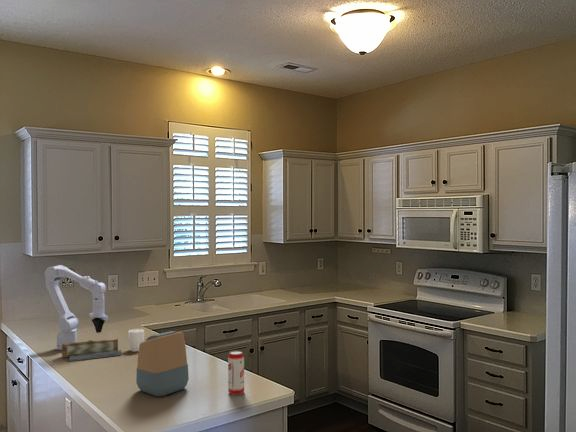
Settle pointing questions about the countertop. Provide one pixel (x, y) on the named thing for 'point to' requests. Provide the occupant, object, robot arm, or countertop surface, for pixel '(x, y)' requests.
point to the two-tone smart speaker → (162, 364)
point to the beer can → (236, 373)
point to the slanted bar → (95, 355)
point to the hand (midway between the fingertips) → (98, 332)
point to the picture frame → (89, 347)
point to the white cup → (135, 339)
